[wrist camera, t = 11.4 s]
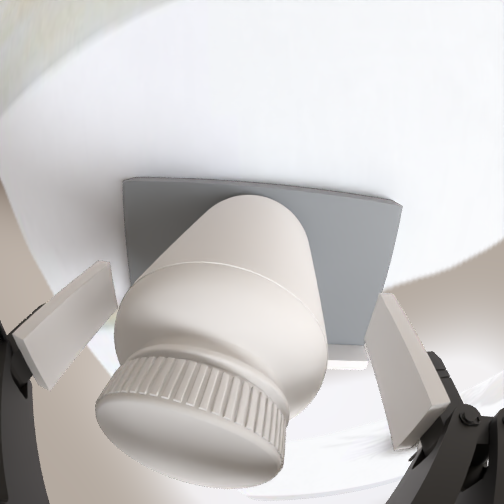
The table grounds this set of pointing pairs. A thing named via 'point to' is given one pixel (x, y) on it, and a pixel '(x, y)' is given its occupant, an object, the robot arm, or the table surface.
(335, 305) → the shelf
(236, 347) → the pill bottle
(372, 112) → the table surface
